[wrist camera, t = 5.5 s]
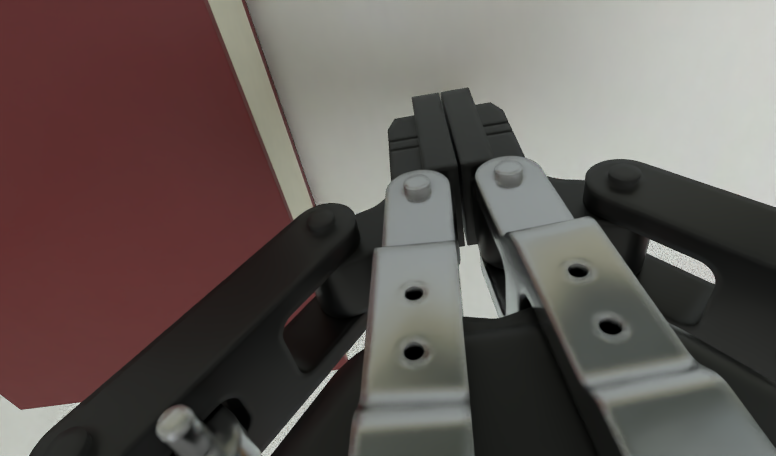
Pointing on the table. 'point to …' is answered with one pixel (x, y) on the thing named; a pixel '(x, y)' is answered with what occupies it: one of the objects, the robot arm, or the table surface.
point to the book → (128, 179)
